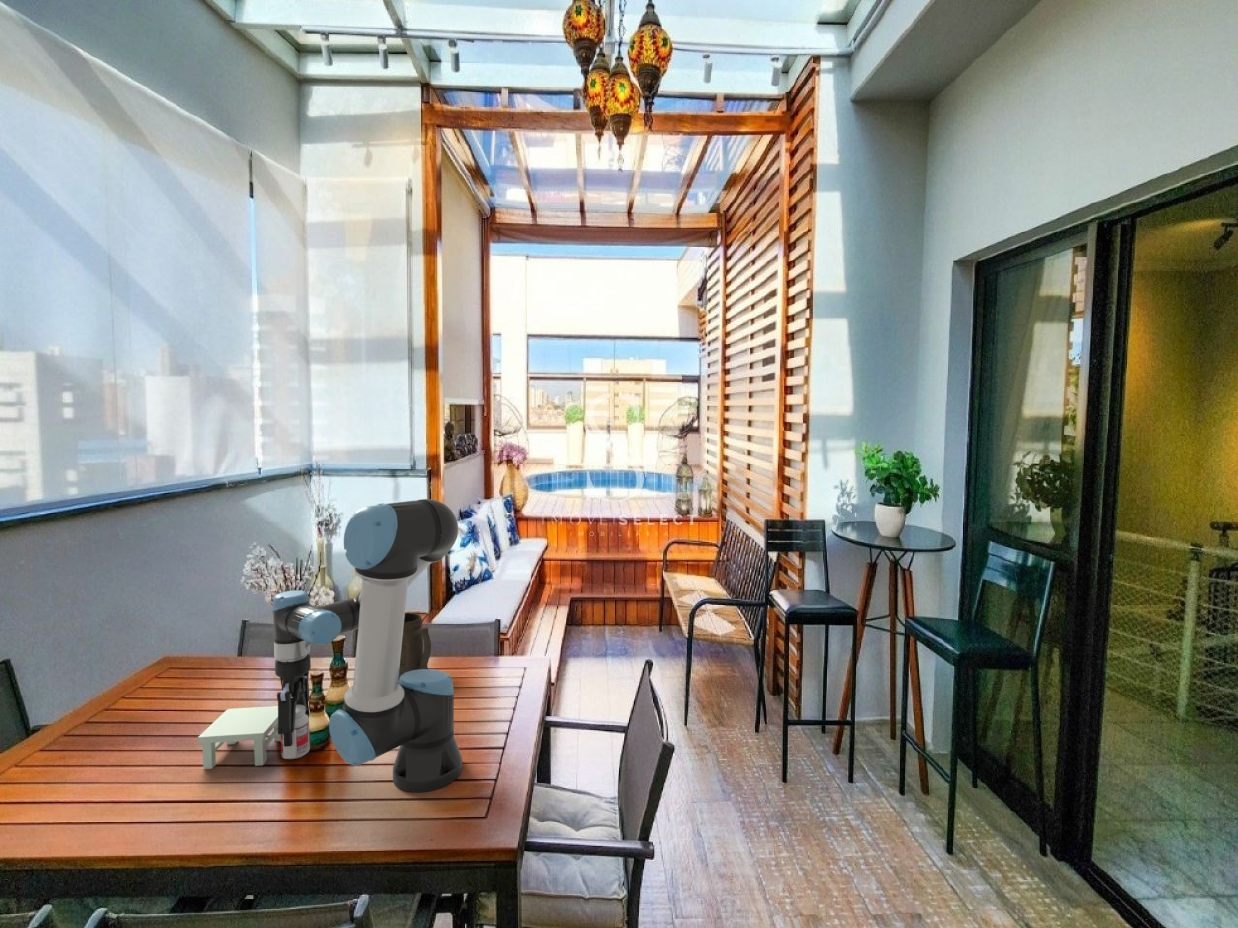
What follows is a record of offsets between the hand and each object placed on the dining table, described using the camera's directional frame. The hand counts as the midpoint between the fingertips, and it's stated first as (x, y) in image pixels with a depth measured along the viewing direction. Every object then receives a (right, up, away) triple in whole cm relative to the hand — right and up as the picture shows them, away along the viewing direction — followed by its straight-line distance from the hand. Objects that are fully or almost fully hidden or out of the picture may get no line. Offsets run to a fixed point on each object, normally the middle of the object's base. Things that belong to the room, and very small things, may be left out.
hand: (295, 749), depth 148 cm
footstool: (-12, -1, 0) cm, 12 cm away
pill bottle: (0, -1, 0) cm, 1 cm away
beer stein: (+14, +2, +42) cm, 45 cm away
